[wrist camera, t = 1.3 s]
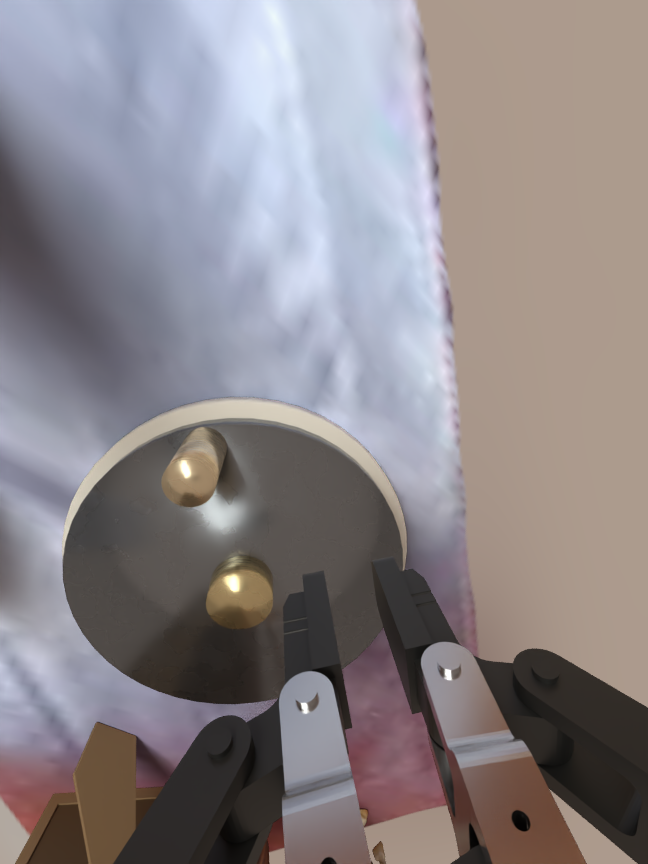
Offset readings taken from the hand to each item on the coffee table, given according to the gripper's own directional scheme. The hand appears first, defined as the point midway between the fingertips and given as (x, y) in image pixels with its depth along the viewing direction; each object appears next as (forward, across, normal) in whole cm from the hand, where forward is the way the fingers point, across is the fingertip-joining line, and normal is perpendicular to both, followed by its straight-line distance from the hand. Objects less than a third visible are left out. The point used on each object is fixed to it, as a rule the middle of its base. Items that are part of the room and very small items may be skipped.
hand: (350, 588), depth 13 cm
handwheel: (+19, +7, +12) cm, 23 cm away
